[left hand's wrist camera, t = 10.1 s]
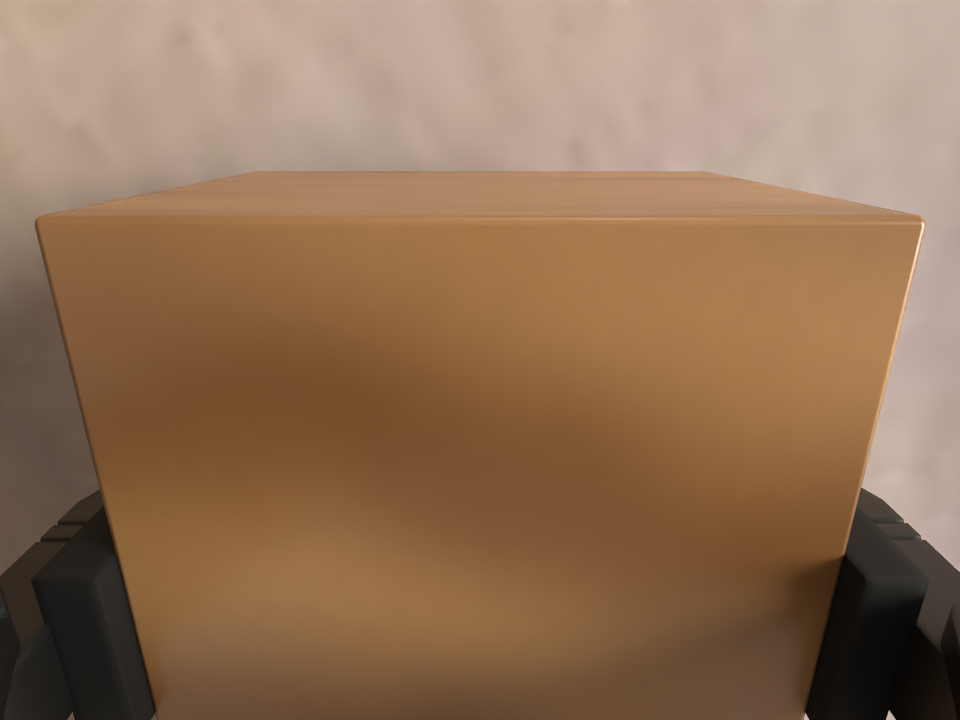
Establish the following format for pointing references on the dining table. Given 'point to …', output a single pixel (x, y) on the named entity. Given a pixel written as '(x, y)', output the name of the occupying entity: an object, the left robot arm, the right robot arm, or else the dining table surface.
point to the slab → (480, 436)
